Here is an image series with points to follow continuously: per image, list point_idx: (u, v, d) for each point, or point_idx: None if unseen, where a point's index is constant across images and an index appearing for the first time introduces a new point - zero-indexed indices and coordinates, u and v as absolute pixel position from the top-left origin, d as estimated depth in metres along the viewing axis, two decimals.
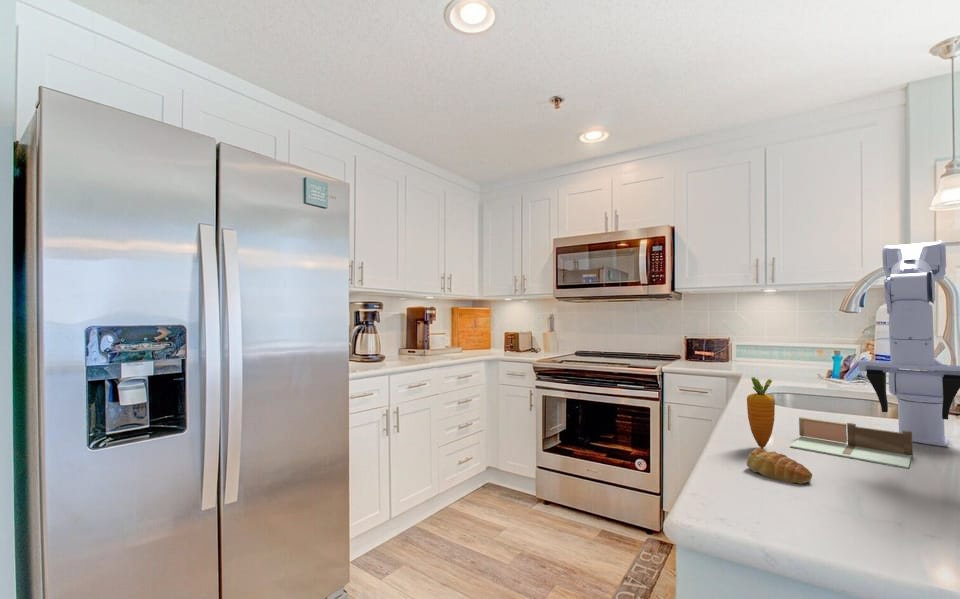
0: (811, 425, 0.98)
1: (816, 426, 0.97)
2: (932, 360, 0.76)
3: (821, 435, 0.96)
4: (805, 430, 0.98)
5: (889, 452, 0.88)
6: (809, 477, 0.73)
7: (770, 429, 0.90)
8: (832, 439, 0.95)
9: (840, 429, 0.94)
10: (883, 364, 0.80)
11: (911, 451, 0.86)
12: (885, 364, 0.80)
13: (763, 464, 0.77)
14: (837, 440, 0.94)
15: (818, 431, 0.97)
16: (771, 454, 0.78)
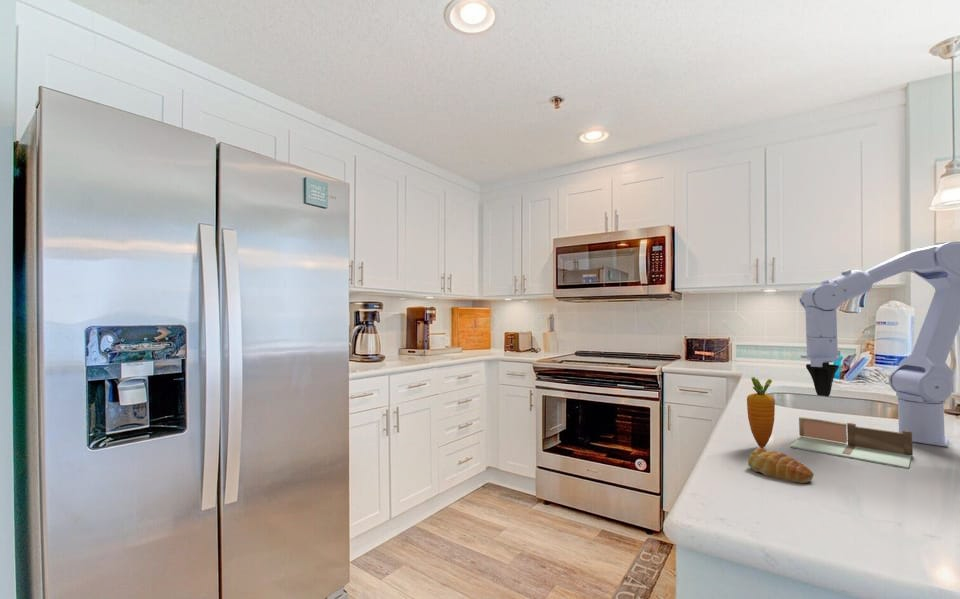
0: (811, 425, 0.98)
1: (816, 426, 0.97)
2: (813, 352, 1.00)
3: (821, 435, 0.96)
4: (805, 430, 0.98)
5: (889, 452, 0.88)
6: (810, 476, 0.73)
7: (770, 429, 0.90)
8: (832, 439, 0.95)
9: (840, 429, 0.94)
10: None
11: (911, 451, 0.86)
12: None
13: (764, 464, 0.77)
14: (837, 440, 0.94)
15: (818, 431, 0.97)
16: (772, 454, 0.78)
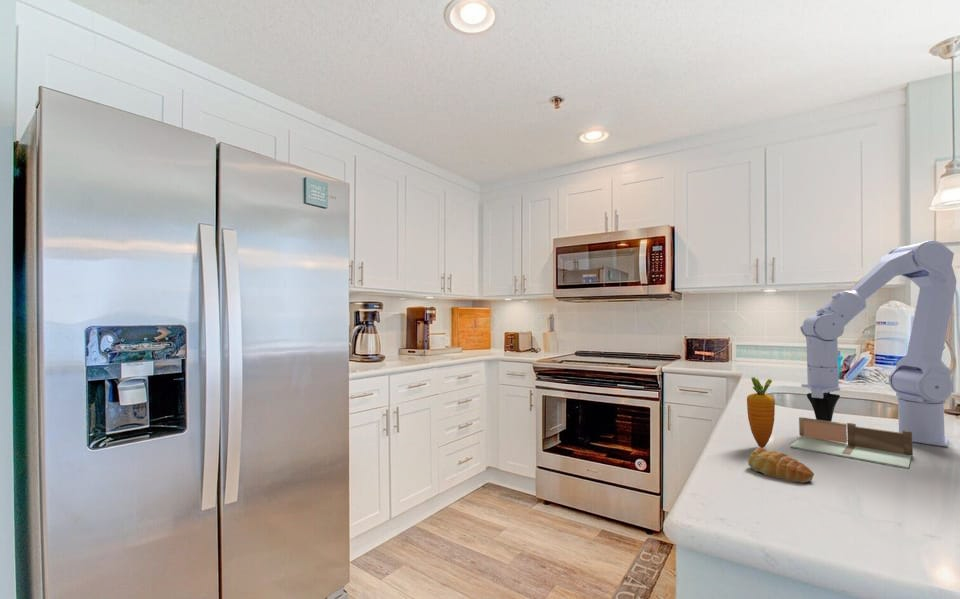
0: (811, 425, 0.98)
1: (816, 426, 0.97)
2: (814, 382, 1.00)
3: (821, 435, 0.96)
4: (805, 430, 0.98)
5: (889, 452, 0.88)
6: (810, 476, 0.73)
7: (770, 429, 0.90)
8: (832, 439, 0.95)
9: (840, 429, 0.94)
10: None
11: (911, 451, 0.86)
12: None
13: (764, 463, 0.77)
14: (837, 440, 0.94)
15: (818, 431, 0.97)
16: (772, 453, 0.78)
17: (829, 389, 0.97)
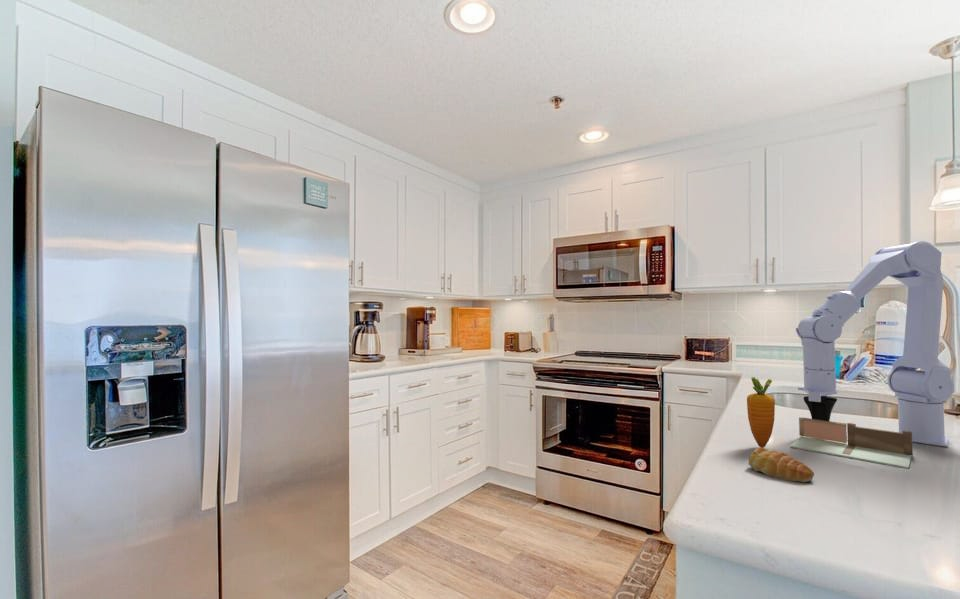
0: (811, 425, 0.98)
1: (816, 426, 0.97)
2: (811, 385, 0.98)
3: (821, 435, 0.96)
4: (805, 430, 0.98)
5: (889, 452, 0.88)
6: (811, 475, 0.73)
7: (770, 429, 0.90)
8: (832, 439, 0.95)
9: (840, 429, 0.94)
10: None
11: (911, 451, 0.86)
12: None
13: (765, 463, 0.77)
14: (837, 440, 0.94)
15: (818, 431, 0.97)
16: (773, 453, 0.78)
17: (826, 392, 0.95)
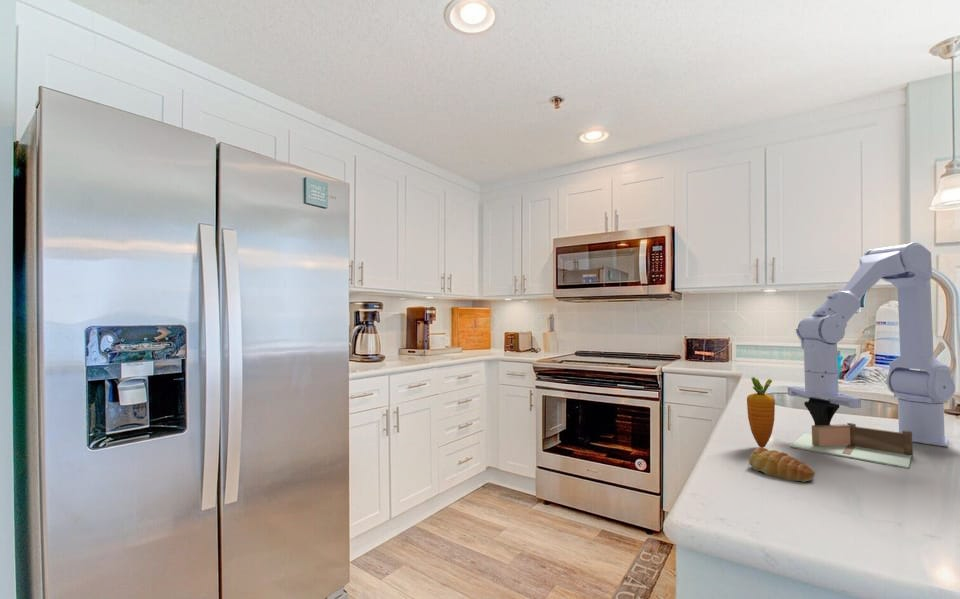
0: (824, 432, 0.92)
1: (828, 432, 0.92)
2: (829, 390, 0.91)
3: (832, 441, 0.92)
4: (820, 439, 0.91)
5: (889, 452, 0.88)
6: (811, 475, 0.73)
7: (770, 429, 0.90)
8: (840, 443, 0.92)
9: (846, 431, 0.92)
10: (798, 391, 0.97)
11: (911, 451, 0.86)
12: (799, 391, 0.97)
13: (765, 463, 0.77)
14: (844, 443, 0.92)
15: (830, 437, 0.92)
16: (773, 453, 0.78)
17: None
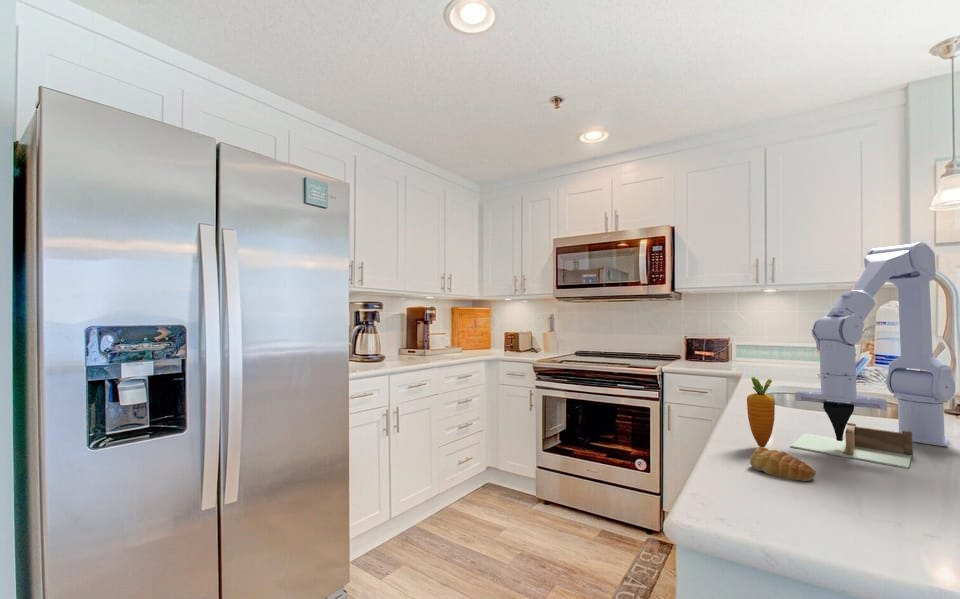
0: (853, 438, 0.88)
1: (853, 437, 0.88)
2: (854, 393, 0.88)
3: None
4: None
5: (889, 452, 0.88)
6: (812, 474, 0.74)
7: (770, 429, 0.90)
8: (854, 445, 0.90)
9: (854, 432, 0.91)
10: (815, 395, 0.91)
11: (911, 451, 0.86)
12: (817, 395, 0.91)
13: (767, 462, 0.77)
14: (854, 445, 0.91)
15: None
16: (774, 452, 0.79)
17: None
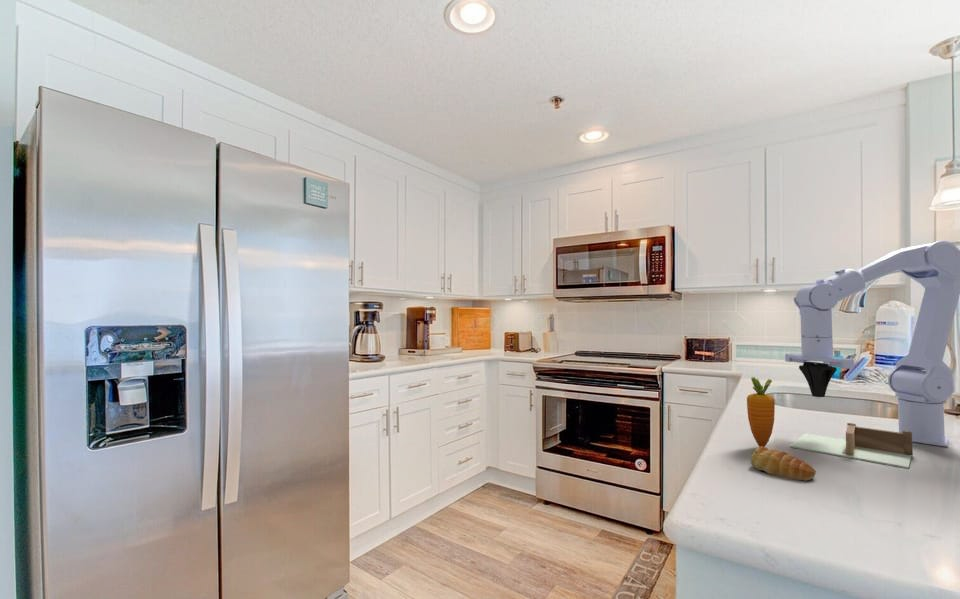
0: None
1: None
2: (824, 353, 0.97)
3: None
4: (853, 446, 0.87)
5: (889, 452, 0.88)
6: (813, 473, 0.74)
7: (770, 429, 0.90)
8: (854, 445, 0.90)
9: (854, 432, 0.91)
10: (795, 356, 1.03)
11: (911, 451, 0.86)
12: (796, 356, 1.03)
13: (767, 462, 0.78)
14: (854, 445, 0.91)
15: None
16: (774, 452, 0.79)
17: None
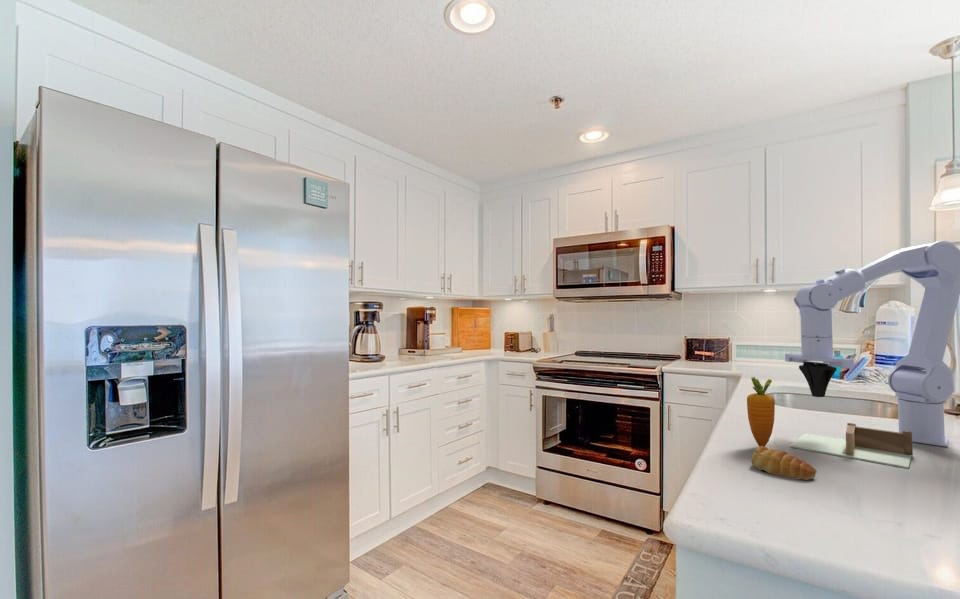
0: None
1: None
2: (824, 353, 0.97)
3: None
4: (853, 446, 0.87)
5: (889, 452, 0.88)
6: (813, 473, 0.74)
7: (770, 429, 0.90)
8: (854, 445, 0.90)
9: (854, 432, 0.91)
10: (795, 356, 1.03)
11: (911, 451, 0.86)
12: (796, 356, 1.03)
13: (768, 462, 0.78)
14: (854, 445, 0.91)
15: None
16: (775, 451, 0.79)
17: None
